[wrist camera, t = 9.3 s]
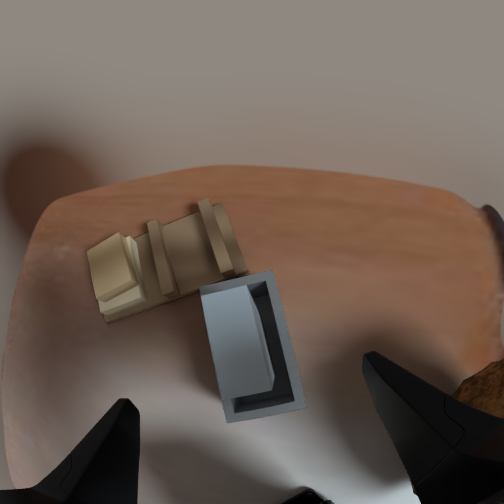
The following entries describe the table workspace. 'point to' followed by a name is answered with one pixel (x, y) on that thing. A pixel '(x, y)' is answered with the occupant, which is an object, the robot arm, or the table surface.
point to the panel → (238, 343)
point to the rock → (484, 391)
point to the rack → (164, 262)
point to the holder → (286, 373)
